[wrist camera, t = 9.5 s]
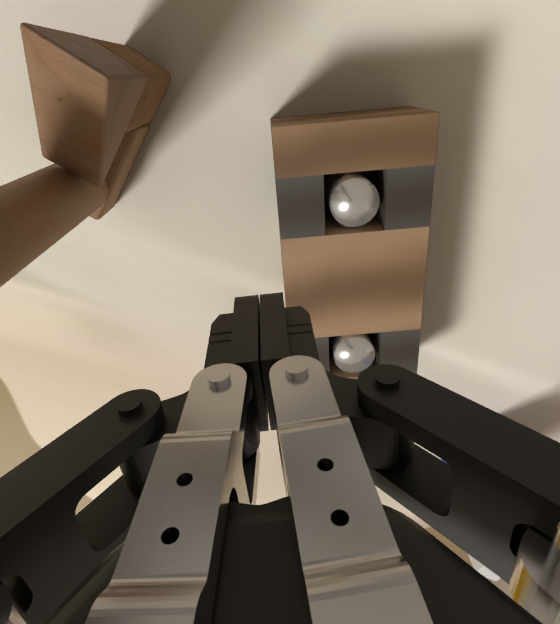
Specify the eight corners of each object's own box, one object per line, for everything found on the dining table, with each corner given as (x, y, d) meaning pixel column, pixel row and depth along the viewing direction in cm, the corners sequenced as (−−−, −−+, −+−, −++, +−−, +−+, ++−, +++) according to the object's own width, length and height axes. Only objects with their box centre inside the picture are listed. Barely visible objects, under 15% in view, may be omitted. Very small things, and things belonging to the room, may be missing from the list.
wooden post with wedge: (174, 75, 30) (73, 75, 14) (114, 208, 34) (-16, 323, 18) (123, 42, 29) (-47, 2, 13) (67, 183, 33) (-112, 282, 17)
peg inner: (319, 164, 33) (329, 180, 28) (362, 160, 33) (380, 175, 28) (321, 206, 34) (331, 229, 29) (361, 202, 34) (378, 225, 29)
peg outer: (324, 305, 39) (333, 340, 33) (360, 302, 39) (375, 336, 33) (325, 336, 40) (334, 374, 35) (360, 333, 40) (374, 371, 35)
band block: (270, 118, 31) (271, 127, 26) (409, 106, 31) (439, 112, 26) (290, 368, 42) (294, 410, 37) (395, 359, 42) (414, 400, 36)
